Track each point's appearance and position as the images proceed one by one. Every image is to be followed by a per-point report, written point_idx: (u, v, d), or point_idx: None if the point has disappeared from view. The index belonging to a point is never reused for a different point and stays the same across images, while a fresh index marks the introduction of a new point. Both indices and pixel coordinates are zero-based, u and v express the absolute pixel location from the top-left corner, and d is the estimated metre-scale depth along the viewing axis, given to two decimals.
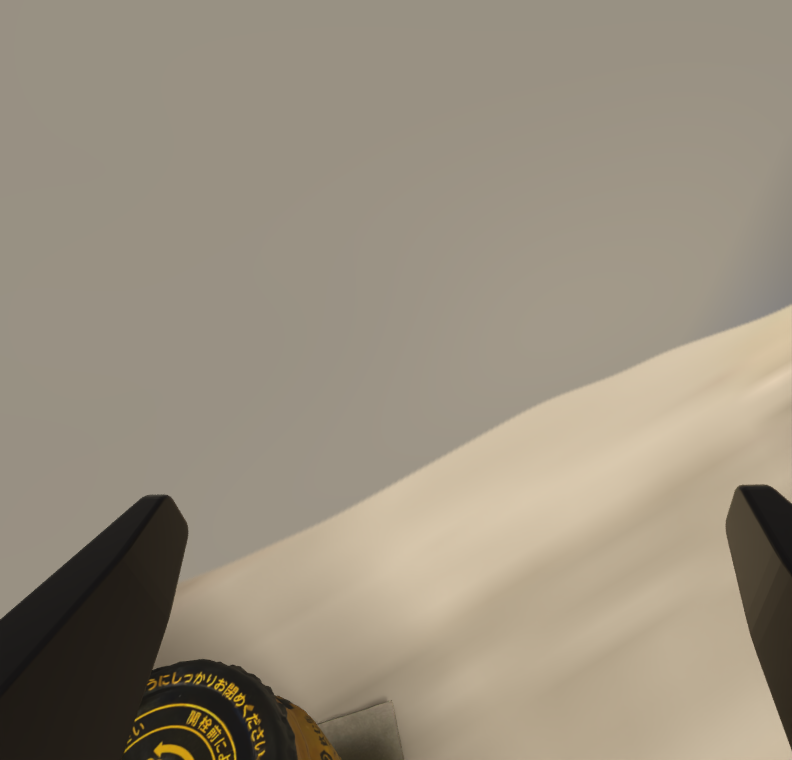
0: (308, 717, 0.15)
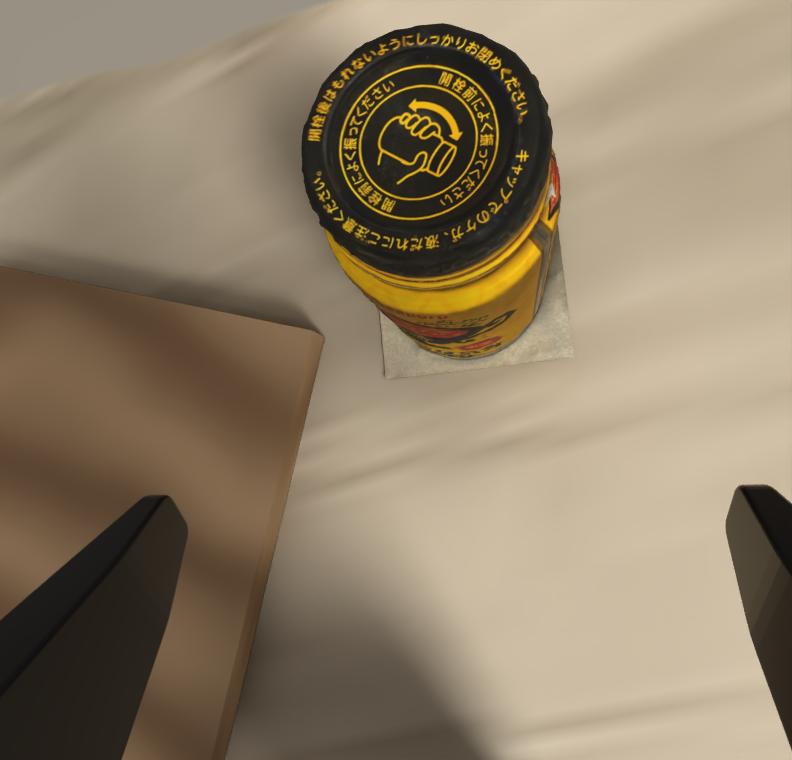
0: None
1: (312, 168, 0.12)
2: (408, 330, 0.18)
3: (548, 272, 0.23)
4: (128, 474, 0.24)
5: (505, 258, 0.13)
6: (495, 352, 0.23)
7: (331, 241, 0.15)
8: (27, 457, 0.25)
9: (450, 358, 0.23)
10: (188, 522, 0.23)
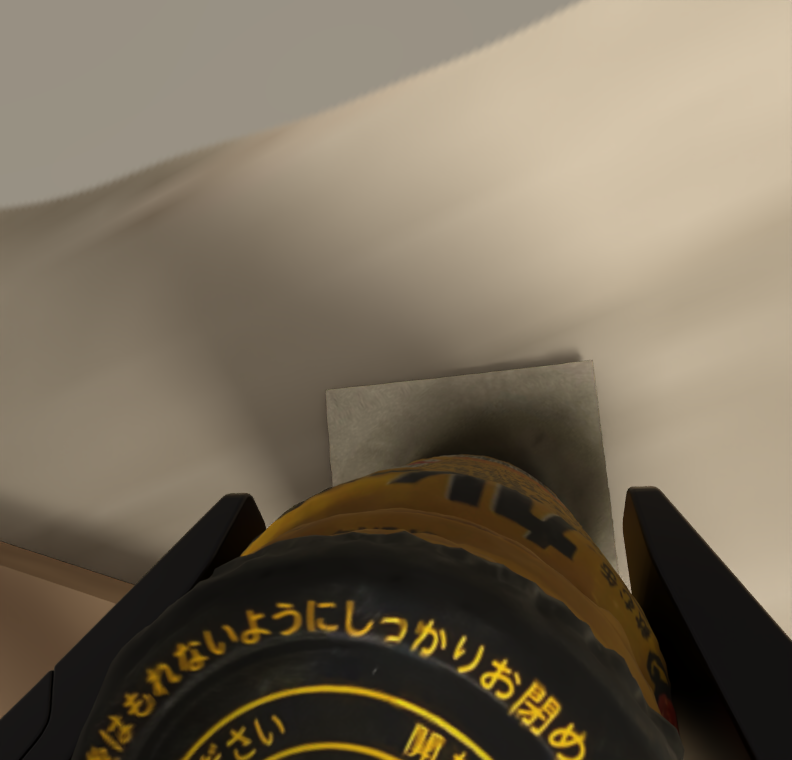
0: (606, 567, 0.07)
1: None
2: None
3: None
4: None
5: None
6: None
7: None
8: None
9: None
10: None
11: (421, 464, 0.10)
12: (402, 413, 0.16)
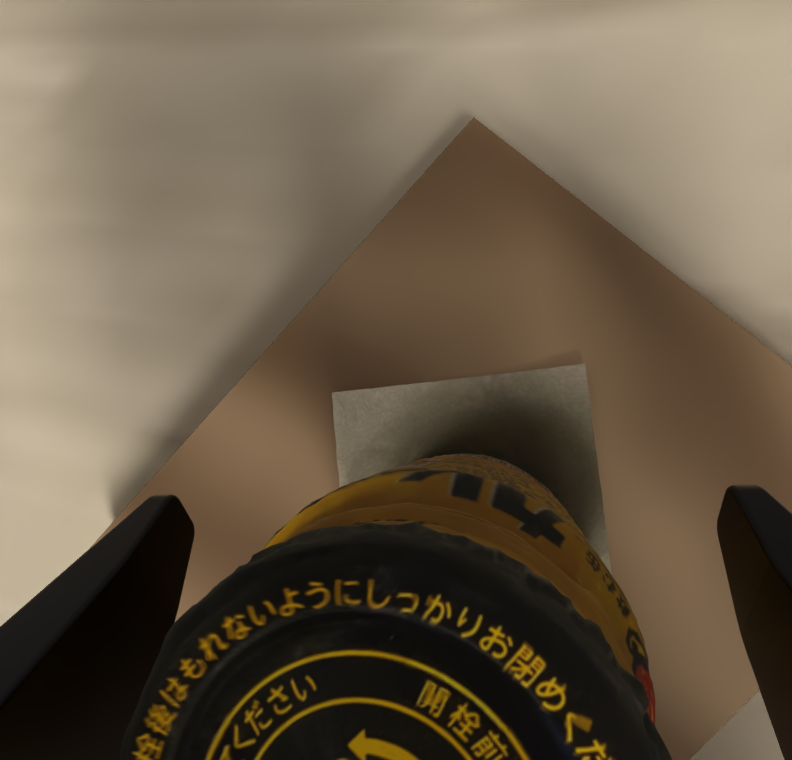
0: (590, 555, 0.08)
1: None
2: None
3: None
4: None
5: None
6: None
7: None
8: None
9: None
10: None
11: (425, 463, 0.10)
12: (405, 414, 0.17)
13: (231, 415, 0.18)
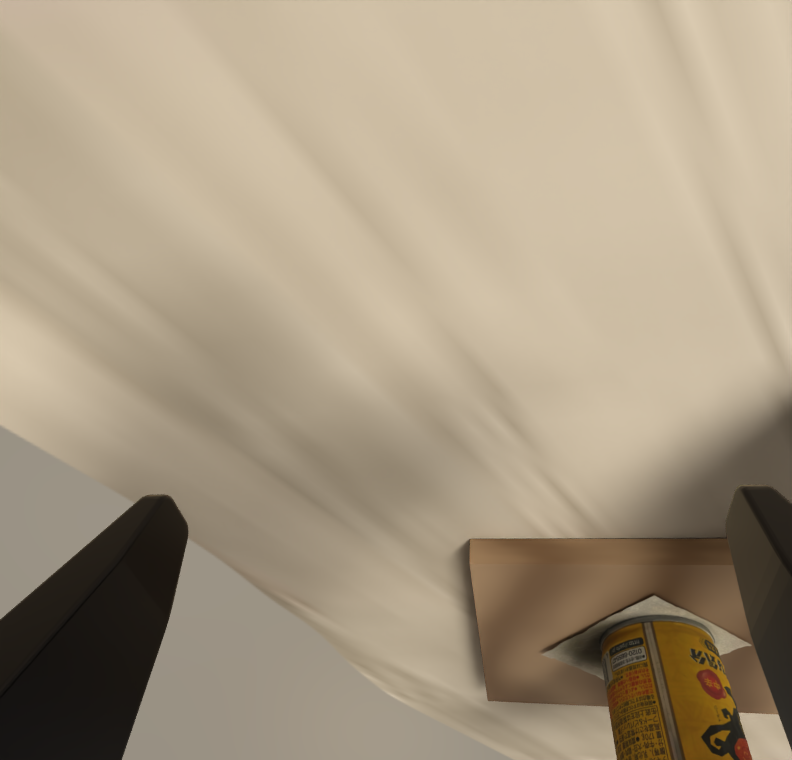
0: None
1: None
2: (746, 740, 0.28)
3: (612, 623, 0.32)
4: None
5: None
6: (686, 620, 0.31)
7: None
8: None
9: (709, 630, 0.32)
10: (635, 599, 0.31)
11: None
12: None
13: None
